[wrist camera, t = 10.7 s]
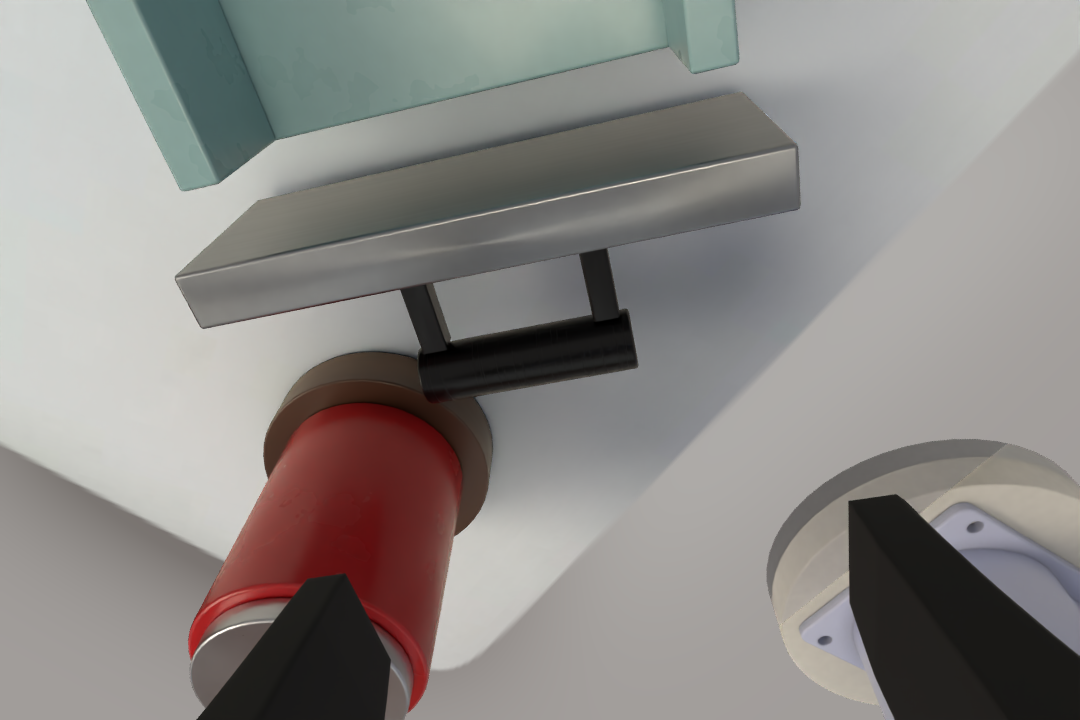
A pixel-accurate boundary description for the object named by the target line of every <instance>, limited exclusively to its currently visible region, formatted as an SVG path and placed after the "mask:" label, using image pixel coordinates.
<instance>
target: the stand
mask: <svg viewBox="0 0 1080 720" xmlns="http://www.w3.org/2000/svg"><path fill="white" fill-rule="evenodd" d="M348 403H375V404H382V405H387V406H391V407H395V408H398V409H401V410H404V411H406V412H408V413H411V414H413V415H415V416H417V417H418V418H420V419H422V420H424V421H425V422H427V423H428V424H429V425H431V426H432V427H434V428H435V429H436V430H437V431H438V432H439V433H440V434H441V435H442V436H443V437H444V438H445V439H446V440H447V442H448V443H449V444H450V446H451V447H452V449H453V450H454V452H455V454H456V456H457V458H458V461H459V463H460V466H461V470H462V477H463V487H462V494H461V500H460V505H459V511H458V516H457V522H456V528H455V533H454V536H456V535H457V534H459V533H460V532H461V531H462V530H464V529H465V528H466V527H467V526H468V525H469V524H470V523H471V522H472V521H473V520H474V518H475V517H476V515H477V514H478V512H479V511H480V510H481V507H482V505H483V503H484V501H485V498H486V494H487V491H488V485H489V477H490V470H491V462H492V452H493V444H492V436H491V432H490V427H489V425H488V422H487V420H486V417H485V415H484V413H483V412H482V410H481V408H480V407H479V405H478V403H477V402H476V401H475V400H474V398H473V397H470V398H464V399H459V400H453V401H447V402H442V403H436V404H432V403H429V402H428V401H427V399H426V398H425V396H424V394H423V391H422V388H421V385H420V381H419V377H418V369H417V360H416V359H413V358H410V357H407V356H402V355H397V354H392V353H382V352H362V353H354V354H348V355H344V356H340V357H336V358H333V359H331V360H328V361H326V362H323V363H321V364H319V365H318V366H316V367H314V368H312V369H311V370H309V371H308V372H307V373H306V374H304V375H303V376H302V377H301V378H300V379H299V380H298V381H297V382H296V383H295V384H294V385H293V387H292V388H291V390H290V391H289V393H288V394H287V396H286V398H285V399H284V401H283V403H282V405H281V406H280V408H279V410H278V411H277V413H276V415H275V417H274V418H273V420H272V422H271V424H270V426H269V428H268V431H267V433H266V437H265V442H264V453H263V457H264V465H265V470H266V474H267V477H268V479H269V477H270V475H271V474H272V472H273V470H274V468H275V466H276V464H277V462H278V460H279V458H280V457H281V455H282V453H283V451H284V449H285V447H286V445H287V443H288V441H289V440H290V438H291V436H292V435H293V433H294V432H295V430H296V429H297V428H298V427H299V426H300V425H301V424H302V423H303V422H304V421H305V420H307V419H308V418H309V417H311V416H313V415H314V414H316V413H318V412H320V411H322V410H325V409H327V408H330V407H333V406H337V405H341V404H348Z"/></svg>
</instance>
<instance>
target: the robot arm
mask: <svg viewBox="0 0 1080 720" xmlns="http://www.w3.org/2000/svg"><path fill="white" fill-rule="evenodd" d="M973 522H974V523H973ZM971 523H972V524H971ZM799 632H800V635H801V638H802V640H804V641H805V642H807V643H809V644H811V645H813V646H815V647H817V648H819V649H821V650H823V651H825V652H828V653H830V654H832V655H834V656H836V657H838V658H840V659H842V660H844V661H846V662H848V663H850V664H852V665H854V666H856V667H858V668H861V669H863V670H865V671H866V673H867V675H868V678H869V680H870V683H871V685H872V688H873V690H874V693H875V695H876V698H877V700H878V703H879V705H880V708H881V710H882V713H883V715H884V718H885V720H1080V568H1078V567H1076V566H1075V565H1073V564H1071V563H1070V562H1068V561H1066V560H1065V559H1063V558H1061V557H1060V556H1058V555H1056V554H1055V553H1053V552H1051V551H1049V550H1048V549H1046V548H1044V547H1043V546H1041V545H1039V544H1038V543H1036V542H1034V541H1033V540H1031V539H1029V538H1028V537H1026V536H1024V535H1023V534H1021V533H1019V532H1018V531H1016V530H1014V529H1013V528H1011V527H1009V526H1008V525H1006V524H1004V523H1003V522H1001V521H999V520H998V519H996V518H994V517H993V516H991V515H989V514H988V513H986V512H984V511H983V510H981V509H979V508H978V507H976V506H974V505H973V504H970V503H957V504H954V505H952V506H951V507H949V508H948V509H947V510H945V511H944V512H943V513H942V514H940V515H939V516H938V517H937V518H935V519H934V520H933V521H931V522H930V523H928V522H927V521H926V520H925V519H924V518H923V517H921V516H920V515H919V514H918V513H917V512H916V511H915V510H914V509H913V508H912V507H911V506H910V505H909V504H908V503H907V502H906V501H905V500H904V499H902V498H901V497H899V496H898V495H896V494H895V495H888V496H881V497H874V498H867V499H860V500H853V501H849V587H847V588H846V589H845V590H843V591H842V592H841V593H840V594H838V595H837V596H836V597H835V598H833V599H832V600H831V601H829V602H828V603H827V604H826V605H824V606H823V607H822V608H821V609H819V610H818V611H817V612H815V613H814V614H813V615H812V616H810V617H809V618H808V619H807V620H805V621H804V622H803V623H802V624H801V625H800V626H799ZM390 665H391V659H390V657H389V655H388V653H387V651H386V649H385V647H384V645H383V644H382V642H381V640H380V638H379V636H378V634H377V632H376V630H375V628H374V626H373V625H372V623H371V621H370V619H369V617H368V615H367V613H366V611H365V609H364V607H363V605H362V604H361V602H360V600H359V598H358V596H357V594H356V592H355V590H354V588H353V586H352V585H351V583H350V581H349V579H348V577H347V575H346V573H343V574H336V575H329V576H322V577H315V578H308V579H307V580H306V581H305V582H304V584H303V585H302V586H301V587H300V588H299V590H298V591H297V592H296V593H295V595H294V596H293V597H292V598H291V600H290V601H289V602H288V604H287V605H286V606H285V607H284V609H283V610H282V611H281V613H280V614H279V615H278V616H277V618H276V619H275V620H274V622H273V623H272V624H271V626H270V627H269V628H268V629H267V631H266V632H265V633H264V635H263V636H262V637H261V639H260V640H259V641H258V642H257V644H256V645H255V646H254V648H253V649H252V650H251V652H250V653H249V654H248V655H247V657H246V658H245V659H244V661H243V662H242V663H241V664H240V666H239V667H238V668H237V669H236V671H235V672H234V673H233V675H232V676H231V677H230V678H229V680H228V681H227V682H226V683H225V685H224V686H223V687H222V688H221V690H220V691H219V692H218V694H217V695H216V696H215V697H214V699H213V700H212V701H211V702H210V704H209V705H208V706H207V707H206V709H205V710H204V711H203V712H202V714H201V715H200V716H199V717H198V719H197V720H385V712H386V704H387V696H388V686H389V676H390Z"/></svg>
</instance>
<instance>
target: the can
mask: <svg viewBox="0 0 1080 720" xmlns="http://www.w3.org/2000/svg"><path fill="white" fill-rule="evenodd" d="M462 487H463V477H462V470H461V466H460V463H459V461H458V458H457V456H456V454H455V452H454V450H453V449H452V447H451V446H450V444H449V443H448V442H447V440H446V439H445V438H444V437H443V436H442V435H441V434H440V433H439V432H438V431H437V430H436V429H435V428H434V427H432V426H431V425H429V424H428V423H427V422H425V421H424V420H422V419H420V418H418V417H417V416H415V415H413V414H411V413H408V412H406V411H404V410H401V409H398V408H395V407H391V406H387V405H382V404H375V403H348V404H341V405H337V406H333V407H330V408H327V409H325V410H322V411H320V412H318V413H316V414H314V415H313V416H311V417H309V418H308V419H307V420H305V421H304V422H303V423H302V424H301V425H300V426H299V427H298V428H297V429H296V430H295V432H294V433H293V435H292V436H291V438H290V440H289V441H288V443H287V445H286V447H285V449H284V451H283V453H282V455H281V457H280V458H279V460H278V462H277V464H276V466H275V468H274V470H273V472H272V474H271V475H270V477H269V479H268V481H267V483H266V485H265V487H264V489H263V491H262V492H261V494H260V496H259V498H258V500H257V502H256V504H255V506H254V508H253V509H252V511H251V513H250V515H249V517H248V519H247V521H246V523H245V525H244V526H243V528H242V530H241V532H240V534H239V536H238V538H237V540H236V542H235V543H234V545H233V547H232V549H231V551H230V553H229V555H228V557H227V559H226V560H225V562H224V564H223V566H222V568H221V570H220V572H219V574H218V576H217V577H216V579H215V581H214V583H213V585H212V587H211V589H210V591H209V593H208V595H207V596H206V598H205V600H204V602H203V604H202V606H201V608H200V610H199V612H198V613H197V615H196V617H195V619H194V621H193V624H192V626H191V629H190V633H189V639H188V645H189V654H190V659H191V664H190V680H191V684H192V688H193V690H194V692H195V694H196V696H197V698H198V699H199V701H200V702H201V703H202V705H203V706H204V707H205V708H206V707H207V706H208V705H209V704H210V702H211V701H212V700H213V699H214V697H215V696H216V695H217V694H218V692H219V691H220V690H221V688H222V687H223V686H224V685H225V683H226V682H227V681H228V680H229V678H230V677H231V676H232V675H233V673H234V672H235V671H236V669H237V668H238V667H239V666H240V664H241V663H242V662H243V661H244V659H245V658H246V657H247V655H248V654H249V653H250V652H251V650H252V649H253V648H254V646H255V645H256V644H257V642H258V641H259V640H260V639H261V637H262V636H263V635H264V633H265V632H266V631H267V629H268V628H269V627H270V626H271V624H272V623H273V622H274V620H275V619H276V618H277V616H278V615H279V614H280V613H281V611H282V610H283V609H284V607H285V606H286V605H287V604H288V602H289V601H290V600H291V598H292V597H293V596H294V595H295V593H296V592H297V591H298V590H299V588H300V587H301V586H302V585H303V584H304V582H305V581H306V580H307V579H308V578H315V577H322V576H329V575H336V574H343V573H346V575H347V577H348V579H349V581H350V583H351V585H352V586H353V588H354V590H355V592H356V594H357V596H358V598H359V600H360V602H361V604H362V605H363V607H364V609H365V611H366V613H367V615H368V617H369V619H370V621H371V623H372V625H373V626H374V628H375V630H376V632H377V634H378V636H379V638H380V640H381V642H382V644H383V645H384V647H385V649H386V651H387V653H388V655H389V657H390V659H391V665H390V676H389V686H388V696H387V704H386V712H385V720H404V719H405V716H406V714H407V713H408V712H410V711H411V710H412V709H413V708H414V707H415V706H416V704H417V703H418V702H419V700H420V699H421V697H422V696H423V694H424V691H425V690H426V686H427V683H428V678H429V673H430V667H431V662H432V656H433V651H434V645H435V639H436V634H437V628H438V623H439V617H440V611H441V606H442V600H443V595H444V589H445V583H446V578H447V572H448V567H449V561H450V555H451V550H452V544H453V539H454V533H455V528H456V522H457V516H458V511H459V505H460V500H461V494H462Z"/></svg>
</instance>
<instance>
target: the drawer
mask: <svg viewBox="0 0 1080 720" xmlns="http://www.w3.org/2000/svg"><path fill="white" fill-rule="evenodd" d="M86 2H87V4H88V6H89V8H90V10H91V12H92V14H93V16H94V18H95V20H96V22H97V24H98V26H99V28H100V30H101V32H102V34H103V36H104V38H105V40H106V42H107V44H108V46H109V48H110V50H111V52H112V54H113V56H114V58H115V60H116V62H117V64H118V66H119V68H120V70H121V72H122V74H123V76H124V78H125V80H126V82H127V84H128V86H129V88H130V90H131V92H132V94H133V96H134V98H135V100H136V102H137V104H138V106H139V108H140V110H141V112H142V114H143V116H144V118H145V120H146V122H147V124H148V126H149V128H150V130H151V132H152V134H153V136H154V138H155V140H156V142H157V144H158V146H159V148H160V150H161V152H162V154H163V156H164V158H165V160H166V162H167V164H168V166H169V168H170V170H171V172H172V174H173V176H174V178H175V180H176V182H177V184H178V186H179V188H180V190H181V191H189V190H194V189H198V188H202V187H207V186H211V185H215V184H219V183H220V182H221V181H223V180H224V179H225V178H227V177H228V176H229V175H231V174H232V173H233V172H235V171H236V170H237V169H238V168H240V167H241V166H242V165H244V164H245V163H246V162H248V161H249V160H250V159H252V158H253V157H254V156H256V155H257V154H258V153H259V152H261V151H262V150H263V149H265V148H266V147H267V146H269V145H270V144H271V143H273V142H274V141H275V140H279V139H283V138H287V137H292V136H296V135H300V134H304V133H309V132H313V131H317V130H321V129H325V128H330V127H334V126H338V125H342V124H346V123H351V122H355V121H359V120H363V119H368V118H372V117H376V116H380V115H384V114H389V113H393V112H397V111H401V110H405V109H410V108H414V107H418V106H422V105H427V104H431V103H435V102H439V101H443V100H448V99H452V98H456V97H460V96H464V95H469V94H473V93H477V92H481V91H486V90H490V89H494V88H498V87H502V86H507V85H511V84H515V83H519V82H523V81H528V80H532V79H536V78H540V77H545V76H549V75H553V74H557V73H561V72H566V71H570V70H574V69H578V68H582V67H587V66H591V65H595V64H599V63H604V62H608V61H612V60H616V59H620V58H625V57H629V56H633V55H637V54H641V53H646V52H650V51H654V50H658V49H663V48H667V47H670V48H671V50H672V51H673V52H674V53H675V54H676V56H677V57H678V58H679V59H680V60H681V62H682V63H683V64H684V65H685V66H686V68H687V69H688V70H689V71H690V72H691V73H692V74H697V73H701V72H705V71H710V70H714V69H718V68H723V67H727V66H731V65H736V64H737V63H738V62H739V47H738V34H737V22H736V9H735V0H86ZM800 205H801V200H800V176H799V153H798V145H797V144H796V143H795V142H794V141H793V140H792V139H791V138H790V137H789V136H788V135H787V134H786V133H785V132H784V131H783V130H782V129H781V128H780V127H779V126H778V125H777V124H776V123H774V122H773V121H772V120H771V119H770V118H769V117H768V116H767V115H766V114H765V113H764V112H763V111H762V110H761V109H760V108H759V107H758V106H757V105H756V104H755V103H754V102H753V101H752V100H751V99H749V98H748V97H747V96H746V95H745V94H744V93H743V92H737V93H732V94H728V95H723V96H719V97H714V98H710V99H706V100H701V101H697V102H692V103H688V104H683V105H679V106H674V107H670V108H666V109H661V110H657V111H652V112H648V113H643V114H639V115H635V116H630V117H626V118H621V119H617V120H612V121H608V122H603V123H599V124H595V125H590V126H586V127H581V128H577V129H572V130H568V131H564V132H559V133H555V134H550V135H546V136H541V137H537V138H533V139H528V140H524V141H519V142H515V143H510V144H506V145H501V146H497V147H493V148H488V149H484V150H479V151H475V152H470V153H466V154H462V155H457V156H453V157H448V158H444V159H439V160H435V161H430V162H426V163H422V164H417V165H413V166H408V167H404V168H399V169H395V170H391V171H386V172H382V173H377V174H373V175H368V176H364V177H359V178H355V179H351V180H346V181H342V182H337V183H333V184H328V185H324V186H320V187H315V188H311V189H306V190H302V191H297V192H293V193H288V194H284V195H280V196H275V197H271V198H266V199H262V200H258V201H257V202H256V203H255V204H253V205H252V206H251V207H250V208H249V209H248V210H247V211H246V212H245V213H244V214H242V215H241V216H240V217H239V218H238V219H237V220H236V221H235V222H234V223H233V224H232V225H230V226H229V227H228V228H227V229H226V230H225V231H224V232H223V233H222V234H221V235H219V236H218V237H217V238H216V239H215V240H214V241H213V242H212V243H211V244H210V245H209V246H207V247H206V248H205V249H204V250H203V251H202V252H201V253H200V254H199V255H198V256H197V257H195V258H194V259H193V260H192V261H191V262H190V263H189V264H188V265H187V266H186V267H184V268H183V269H182V270H181V271H180V272H179V273H178V274H177V275H176V276H175V281H176V283H177V285H178V286H179V288H180V290H181V292H182V294H183V296H184V298H185V299H186V301H187V303H188V305H189V307H190V309H191V311H192V312H193V314H194V316H195V318H196V320H197V322H198V324H199V325H200V327H201V328H203V329H206V328H211V327H216V326H220V325H225V324H230V323H235V322H240V321H245V320H250V319H255V318H260V317H265V316H270V315H275V314H280V313H285V312H290V311H295V310H300V309H305V308H310V307H315V306H320V305H325V304H330V303H335V302H340V301H345V300H350V299H355V298H360V297H365V296H370V295H375V294H380V293H385V292H390V291H395V290H400V291H401V293H402V296H403V299H404V302H405V304H406V307H407V310H408V313H409V315H410V318H411V321H412V324H413V326H414V329H415V332H416V335H417V337H418V340H419V343H420V346H421V348H420V350H419V352H418V357H417V369H418V377H419V381H420V385H421V388H422V391H423V394H424V396H425V398H426V399H427V401H428V402H429V403H432V404H436V403H442V402H447V401H453V400H459V399H464V398H470V397H476V396H482V395H487V394H493V393H499V392H504V391H510V390H516V389H521V388H527V387H533V386H539V385H544V384H550V383H556V382H561V381H567V380H573V379H578V378H584V377H590V376H596V375H601V374H607V373H613V372H618V371H624V370H630V369H635V368H637V367H638V359H637V353H636V348H635V342H634V337H633V331H632V326H631V320H630V315H629V311H628V309H620V310H619V305H618V300H617V295H616V289H615V284H614V279H613V274H612V269H611V263H610V258H609V253H608V248H610V247H615V246H620V245H625V244H630V243H635V242H640V241H645V240H650V239H655V238H660V237H665V236H670V235H675V234H680V233H685V232H690V231H695V230H700V229H705V228H710V227H715V226H720V225H725V224H730V223H735V222H740V221H745V220H750V219H755V218H760V217H765V216H770V215H775V214H780V213H785V212H790V211H795V210H798V209H800ZM575 254H579V256H580V260H581V265H582V270H583V274H584V279H585V283H586V288H587V293H588V297H589V302H590V307H591V311H592V315H588V316H583V317H578V318H572V319H567V320H562V321H556V322H551V323H546V324H540V325H535V326H530V327H524V328H519V329H514V330H508V331H503V332H498V333H492V334H487V335H482V336H476V337H471V338H466V339H460V340H455V341H450V340H451V336H450V333H449V331H448V328H447V325H446V322H445V319H444V316H443V313H442V310H441V307H440V304H439V301H438V298H437V295H436V292H435V289H434V286H433V283H435V282H440V281H445V280H450V279H455V278H460V277H465V276H470V275H475V274H480V273H485V272H490V271H495V270H500V269H505V268H510V267H515V266H520V265H525V264H530V263H535V262H540V261H545V260H550V259H555V258H560V257H565V256H570V255H575Z"/></svg>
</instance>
